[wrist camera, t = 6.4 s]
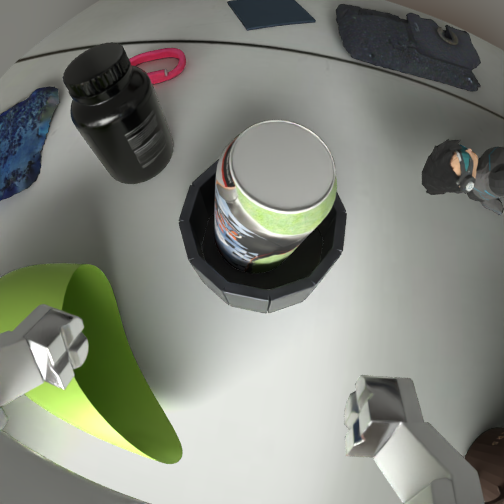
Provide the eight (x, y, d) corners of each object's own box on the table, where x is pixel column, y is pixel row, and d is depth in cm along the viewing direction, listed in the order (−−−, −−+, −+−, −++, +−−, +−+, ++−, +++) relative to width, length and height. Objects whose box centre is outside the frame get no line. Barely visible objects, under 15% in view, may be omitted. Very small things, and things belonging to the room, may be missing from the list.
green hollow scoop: (161, 264, 15) (-46, 248, 17) (158, 487, 13) (-45, 392, 16) (203, 276, 23) (13, 260, 25) (196, 437, 21) (12, 381, 23)
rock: (66, 85, 33) (60, 75, 31) (39, 195, 27) (29, 186, 26) (-9, 120, 33) (-16, 113, 31) (-39, 223, 27) (-49, 217, 25)
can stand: (300, 171, 27) (307, 134, 23) (350, 284, 24) (371, 265, 19) (181, 205, 26) (166, 174, 22) (216, 329, 23) (206, 322, 18)
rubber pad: (287, -5, 39) (287, -6, 39) (315, 22, 36) (315, 20, 35) (227, 3, 38) (227, 1, 38) (247, 30, 35) (247, 28, 35)
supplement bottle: (167, 120, 30) (135, 23, 18) (182, 171, 28) (145, 67, 16) (104, 144, 29) (54, 58, 18) (112, 197, 27) (46, 111, 16)
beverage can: (232, 196, 27) (216, 88, 15) (318, 222, 26) (356, 123, 14) (203, 265, 25) (161, 185, 13) (296, 296, 24) (330, 235, 12)
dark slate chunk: (328, 9, 37) (332, -16, 33) (451, 38, 37) (460, 18, 32) (342, 62, 33) (349, 32, 28) (486, 98, 32) (501, 76, 27)
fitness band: (117, 92, 32) (113, 83, 30) (125, 63, 34) (122, 55, 32) (185, 79, 32) (182, 69, 30) (187, 51, 34) (185, 42, 32)
